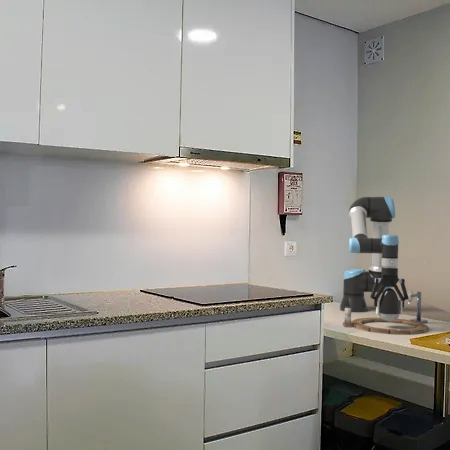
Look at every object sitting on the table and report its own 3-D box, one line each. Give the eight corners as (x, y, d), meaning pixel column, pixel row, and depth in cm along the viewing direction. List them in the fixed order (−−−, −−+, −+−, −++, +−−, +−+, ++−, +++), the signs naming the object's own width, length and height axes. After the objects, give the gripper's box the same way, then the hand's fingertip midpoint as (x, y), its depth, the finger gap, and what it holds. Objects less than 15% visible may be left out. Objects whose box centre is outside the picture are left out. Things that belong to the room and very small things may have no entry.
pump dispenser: (382, 317, 269) (383, 286, 269) (403, 319, 263) (404, 288, 262) (373, 319, 261) (374, 287, 261) (395, 322, 255) (395, 289, 255)
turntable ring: (336, 319, 279) (336, 303, 279) (412, 321, 279) (412, 304, 279) (351, 333, 245) (351, 314, 245) (438, 334, 245) (438, 315, 245)
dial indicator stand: (417, 321, 280) (417, 288, 280) (427, 323, 275) (428, 290, 275) (400, 323, 272) (401, 290, 272) (411, 325, 267) (411, 291, 267)
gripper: (367, 267, 258) (367, 314, 258) (416, 268, 258) (415, 315, 258) (363, 266, 266) (363, 312, 266) (411, 267, 266) (410, 313, 266)
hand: (388, 314), depth 262 cm, fingers closed on pump dispenser, 10 cm apart
